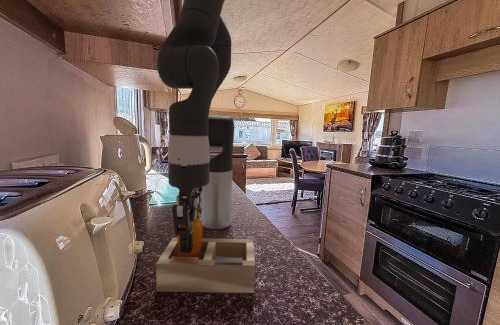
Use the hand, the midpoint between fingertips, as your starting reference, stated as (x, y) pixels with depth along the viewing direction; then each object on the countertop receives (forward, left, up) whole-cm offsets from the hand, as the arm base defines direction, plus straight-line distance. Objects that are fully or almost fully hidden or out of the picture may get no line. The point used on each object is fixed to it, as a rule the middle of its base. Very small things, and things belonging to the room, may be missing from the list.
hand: (189, 243), depth 45 cm
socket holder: (+2, +3, -7) cm, 8 cm away
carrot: (0, 0, -7) cm, 7 cm away
